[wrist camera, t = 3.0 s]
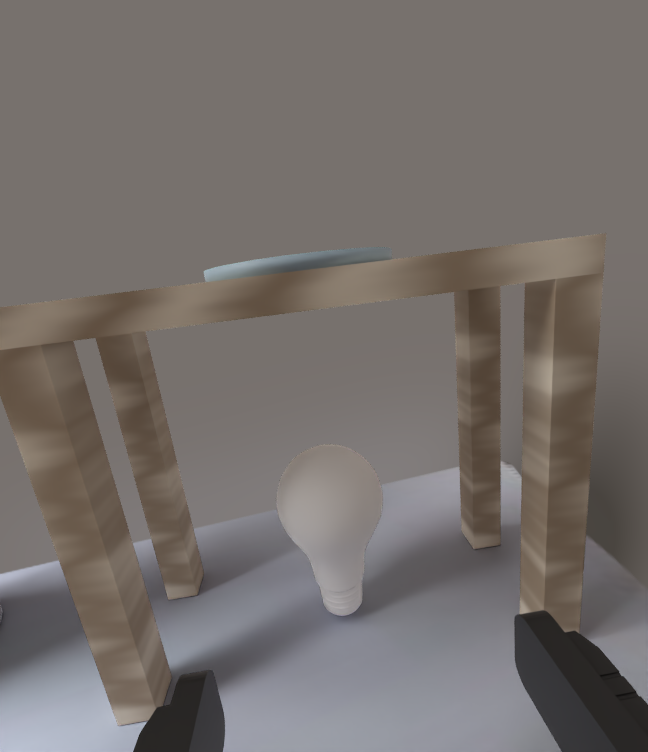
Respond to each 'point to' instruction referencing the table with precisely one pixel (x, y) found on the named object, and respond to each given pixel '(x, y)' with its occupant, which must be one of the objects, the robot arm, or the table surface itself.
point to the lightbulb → (332, 518)
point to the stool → (279, 296)
